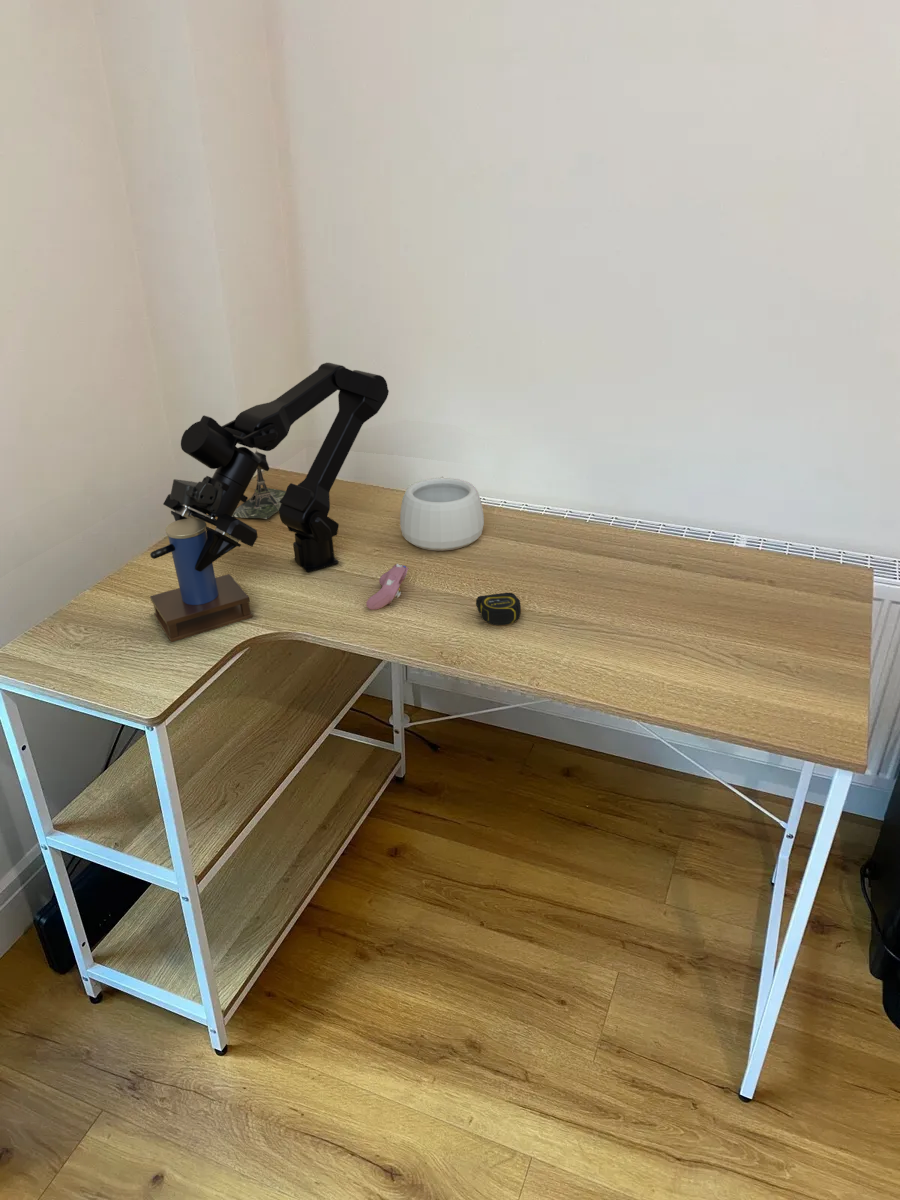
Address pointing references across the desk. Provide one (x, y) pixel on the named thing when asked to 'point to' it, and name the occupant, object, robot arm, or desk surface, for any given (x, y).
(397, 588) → the video game controller
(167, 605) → the rack
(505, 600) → the tape measure
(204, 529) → the blue cylinder
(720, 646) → the desk surface
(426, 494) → the white round bowl
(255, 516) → the eiffel tower figurine
